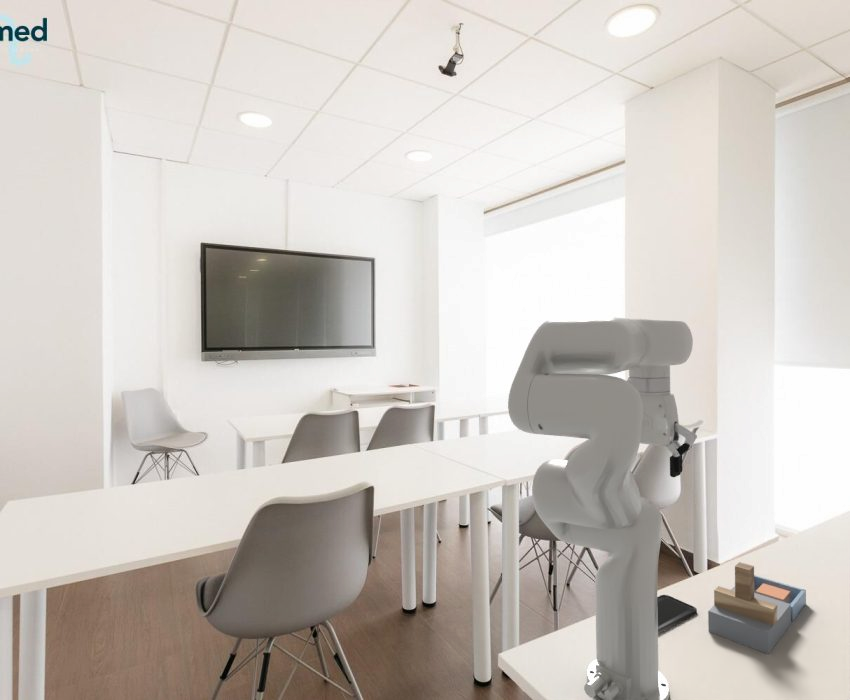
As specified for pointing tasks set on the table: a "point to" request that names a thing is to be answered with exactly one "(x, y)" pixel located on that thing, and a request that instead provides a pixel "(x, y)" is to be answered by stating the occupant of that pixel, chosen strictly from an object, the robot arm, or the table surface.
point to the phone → (672, 612)
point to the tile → (774, 593)
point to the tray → (795, 594)
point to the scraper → (745, 597)
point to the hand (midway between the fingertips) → (650, 471)
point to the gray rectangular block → (750, 625)
